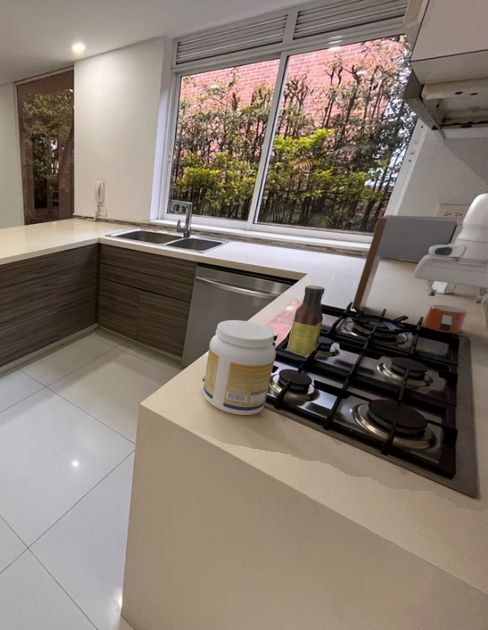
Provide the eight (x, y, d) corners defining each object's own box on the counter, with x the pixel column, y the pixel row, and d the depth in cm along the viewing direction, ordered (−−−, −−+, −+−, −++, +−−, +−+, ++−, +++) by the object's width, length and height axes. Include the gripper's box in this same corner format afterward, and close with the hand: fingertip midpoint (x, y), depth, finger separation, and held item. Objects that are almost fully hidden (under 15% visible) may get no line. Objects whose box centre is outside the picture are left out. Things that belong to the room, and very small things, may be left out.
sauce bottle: (317, 364, 88) (337, 291, 81) (291, 362, 89) (309, 290, 82) (305, 353, 94) (323, 284, 87) (281, 351, 95) (297, 283, 88)
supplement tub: (274, 403, 72) (292, 331, 66) (244, 425, 66) (261, 347, 60) (221, 379, 82) (233, 314, 76) (190, 396, 75) (200, 326, 69)
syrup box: (437, 289, 151) (449, 257, 145) (453, 293, 145) (467, 260, 140) (427, 290, 149) (439, 258, 144) (443, 294, 144) (457, 260, 139)
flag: (420, 317, 119) (459, 217, 108) (416, 330, 108) (459, 221, 96) (358, 305, 132) (386, 215, 120) (348, 317, 120) (378, 218, 108)
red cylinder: (459, 327, 110) (468, 308, 108) (459, 347, 97) (469, 326, 94) (423, 321, 116) (430, 302, 113) (418, 338, 103) (426, 318, 100)
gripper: (535, 255, 87) (509, 305, 92) (424, 245, 101) (407, 289, 106) (539, 258, 83) (512, 311, 88) (423, 247, 97) (405, 293, 102)
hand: (454, 299), depth 97 cm, fingers open, 8 cm apart
